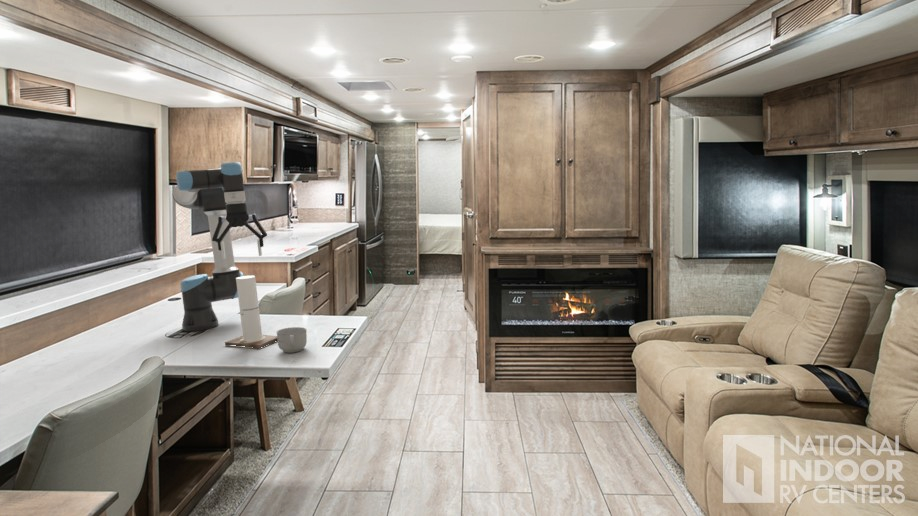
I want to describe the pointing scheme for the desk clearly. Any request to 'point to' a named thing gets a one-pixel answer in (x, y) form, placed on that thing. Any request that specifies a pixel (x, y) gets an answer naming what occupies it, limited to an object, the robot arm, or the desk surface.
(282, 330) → the teacup
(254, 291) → the cylindrical container
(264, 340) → the board
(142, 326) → the desk surface
